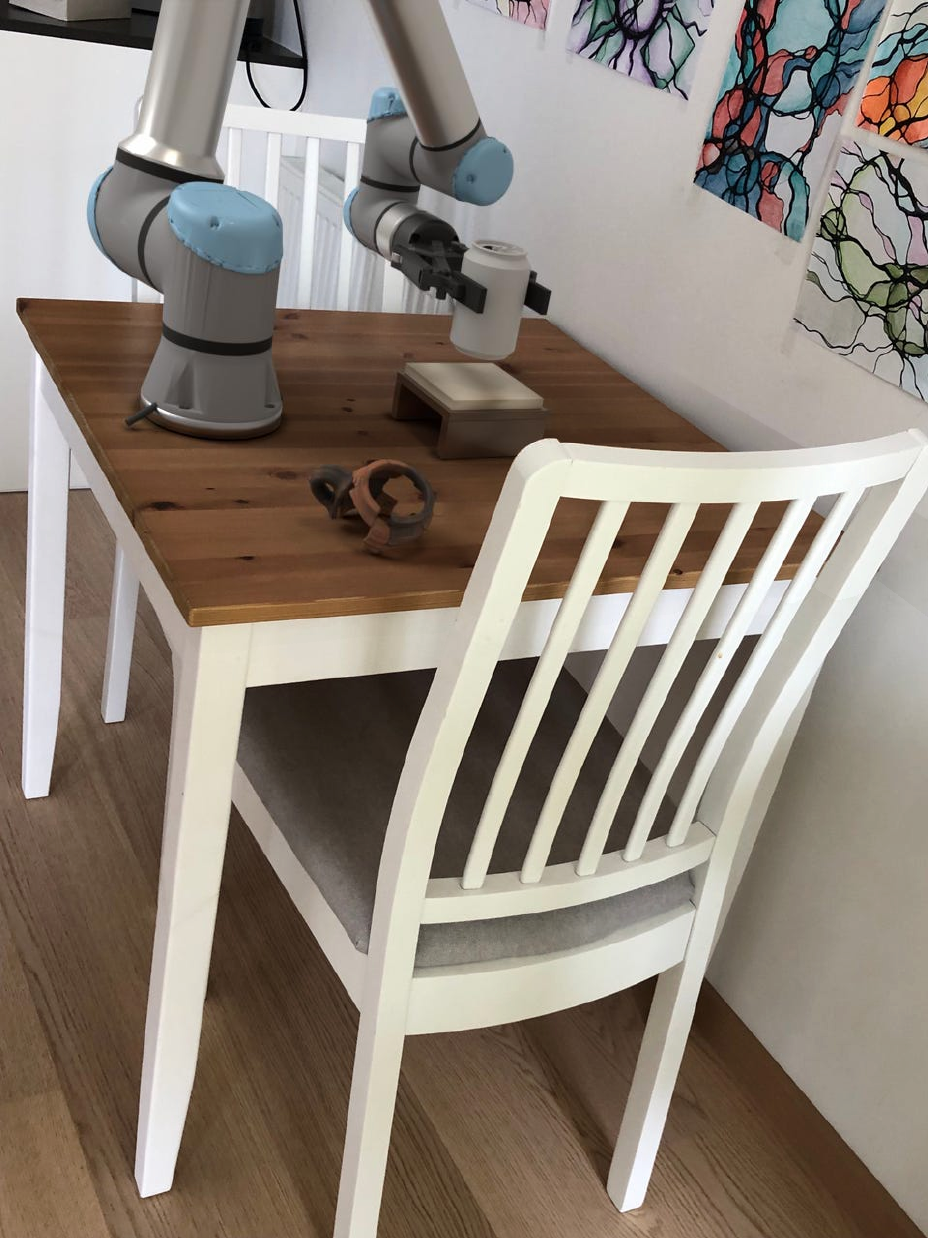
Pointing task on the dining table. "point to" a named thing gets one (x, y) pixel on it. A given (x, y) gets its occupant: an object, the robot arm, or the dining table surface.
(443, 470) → the dining table surface
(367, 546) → the broken clay pot
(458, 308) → the can
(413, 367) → the bench
